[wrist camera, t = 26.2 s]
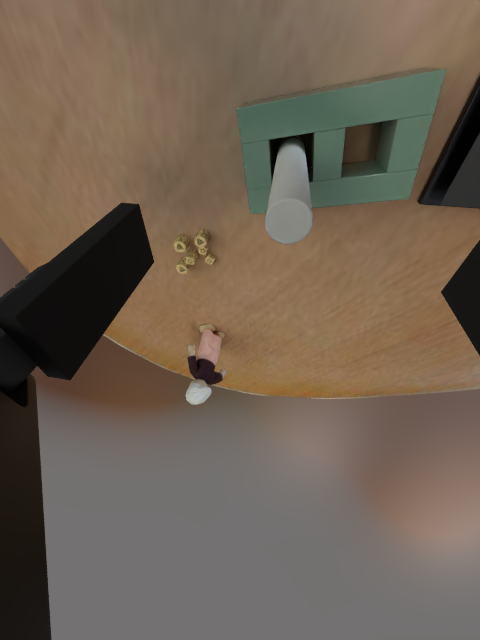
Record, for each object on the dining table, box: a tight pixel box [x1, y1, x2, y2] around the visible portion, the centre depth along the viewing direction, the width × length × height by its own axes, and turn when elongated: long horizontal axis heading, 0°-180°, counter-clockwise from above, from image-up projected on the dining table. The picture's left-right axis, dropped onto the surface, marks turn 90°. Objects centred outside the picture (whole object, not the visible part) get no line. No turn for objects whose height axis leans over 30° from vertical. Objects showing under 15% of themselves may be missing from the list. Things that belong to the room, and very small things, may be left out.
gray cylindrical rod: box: [265, 136, 313, 244], centre depth 18 cm, size 2×2×15 cm
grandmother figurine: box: [186, 324, 226, 405], centre depth 39 cm, size 8×4×13 cm, turn 53°
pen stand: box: [237, 68, 446, 214], centre depth 21 cm, size 8×13×4 cm, turn 99°
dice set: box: [174, 229, 216, 274], centre depth 32 cm, size 5×5×2 cm
